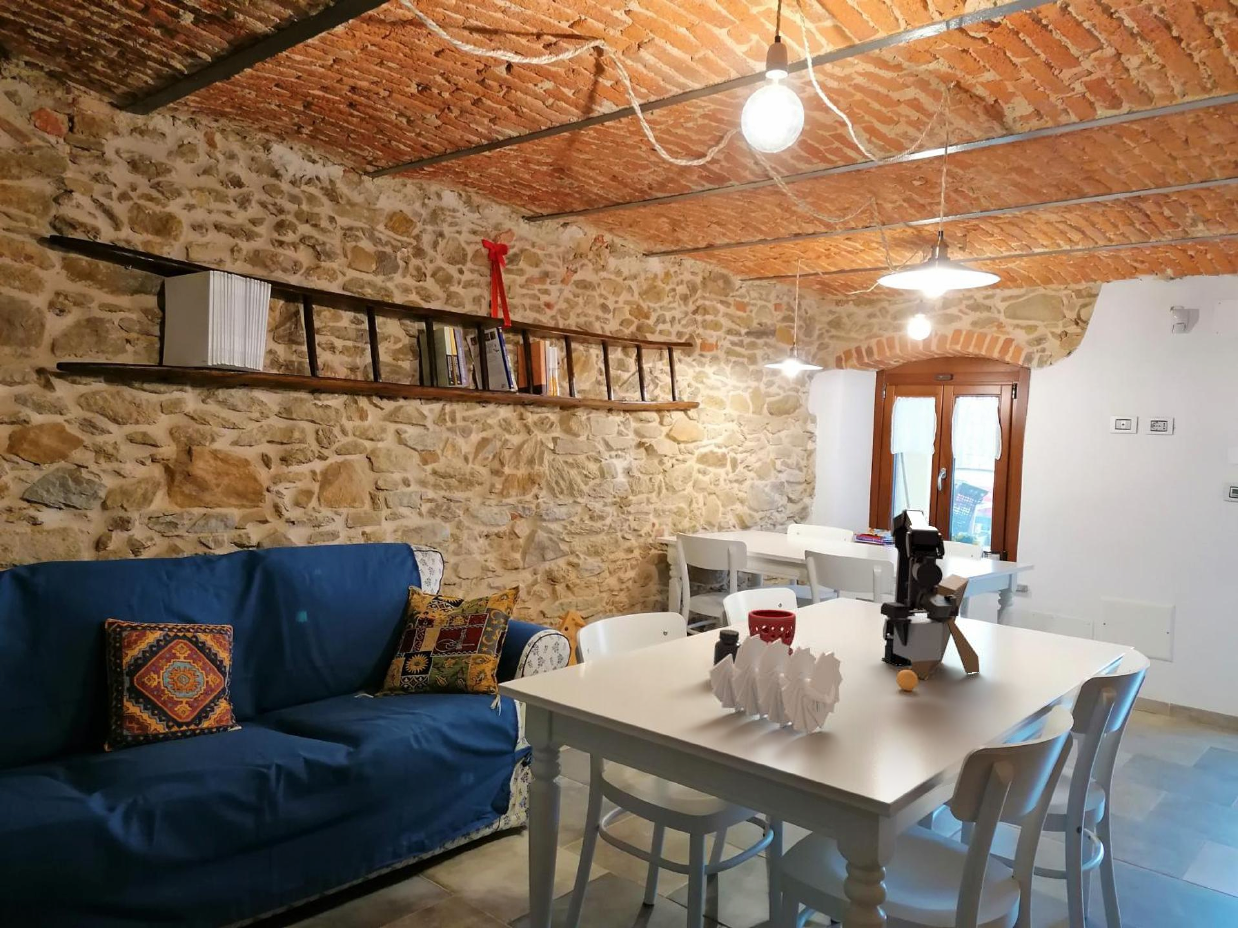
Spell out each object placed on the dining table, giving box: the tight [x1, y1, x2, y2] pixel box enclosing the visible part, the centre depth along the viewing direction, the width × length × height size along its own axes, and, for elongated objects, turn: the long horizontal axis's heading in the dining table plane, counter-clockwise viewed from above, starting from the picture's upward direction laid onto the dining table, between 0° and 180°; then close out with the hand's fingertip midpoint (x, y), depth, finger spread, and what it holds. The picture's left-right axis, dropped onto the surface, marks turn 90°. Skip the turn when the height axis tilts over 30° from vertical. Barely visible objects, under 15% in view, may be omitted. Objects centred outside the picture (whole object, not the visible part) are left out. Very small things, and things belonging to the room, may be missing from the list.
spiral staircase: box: [708, 634, 843, 736], centre depth 180 cm, size 18×18×25 cm
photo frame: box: [909, 573, 980, 680], centre depth 224 cm, size 15×22×25 cm
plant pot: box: [747, 609, 797, 657], centre depth 236 cm, size 13×13×12 cm
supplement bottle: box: [712, 629, 742, 668], centre depth 211 cm, size 7×7×12 cm
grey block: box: [893, 615, 943, 661], centre depth 204 cm, size 8×8×9 cm
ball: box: [895, 669, 919, 692], centre depth 207 cm, size 5×5×5 cm
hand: (918, 644), depth 204 cm, fingers closed on grey block, 8 cm apart
